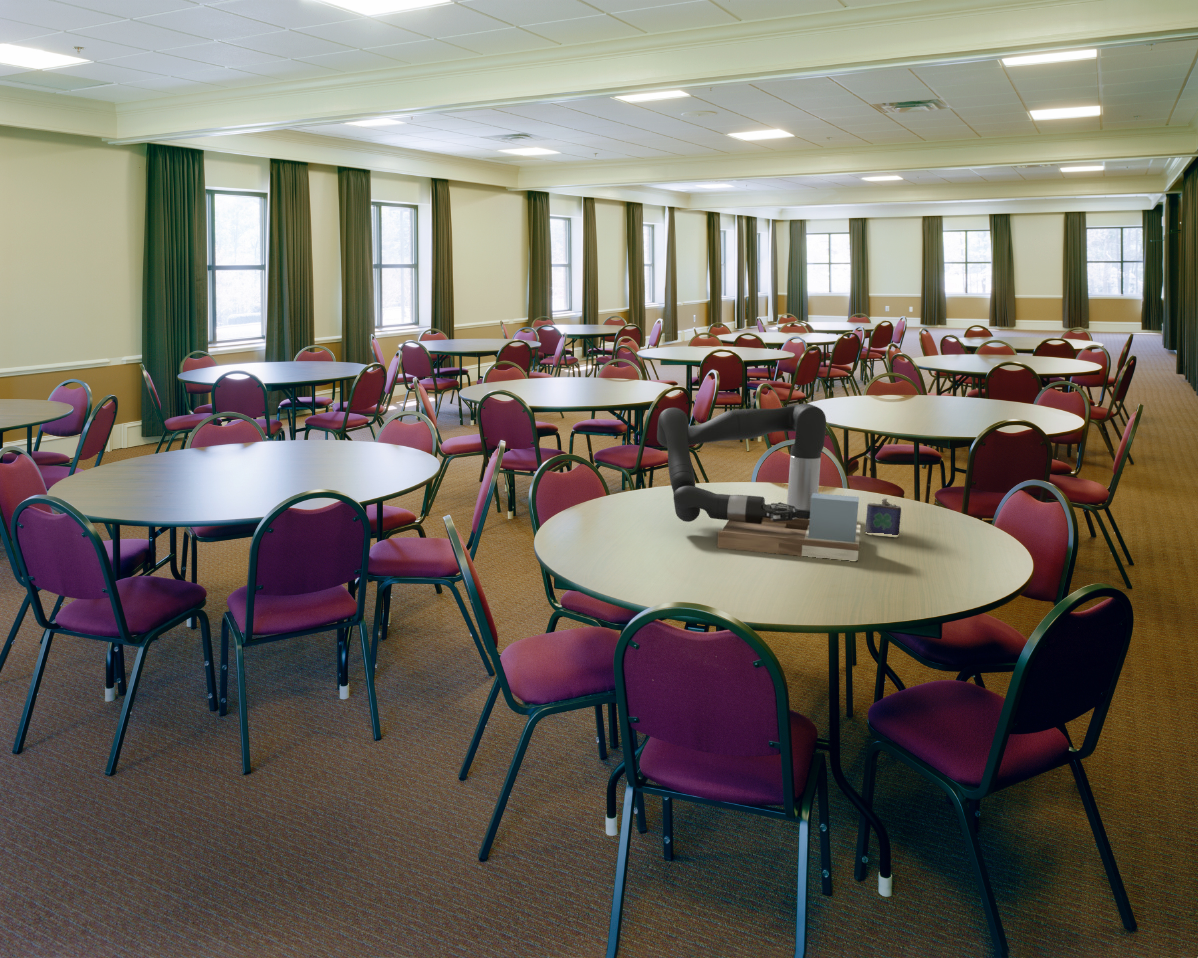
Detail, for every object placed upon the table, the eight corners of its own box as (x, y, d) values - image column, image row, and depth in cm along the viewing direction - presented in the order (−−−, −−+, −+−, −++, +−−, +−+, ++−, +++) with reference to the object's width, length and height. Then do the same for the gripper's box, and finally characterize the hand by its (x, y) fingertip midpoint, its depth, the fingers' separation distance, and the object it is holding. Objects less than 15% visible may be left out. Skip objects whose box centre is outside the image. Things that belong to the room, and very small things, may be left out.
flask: (864, 534, 252) (867, 498, 250) (865, 532, 255) (869, 495, 253) (898, 539, 249) (901, 501, 246) (899, 536, 251) (903, 499, 249)
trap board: (730, 527, 257) (730, 512, 256) (859, 539, 247) (860, 524, 246) (717, 547, 236) (718, 531, 235) (857, 562, 226) (859, 545, 225)
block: (809, 532, 242) (812, 492, 240) (855, 536, 239) (858, 496, 236) (808, 537, 237) (811, 497, 234) (854, 542, 233) (858, 501, 231)
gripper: (743, 500, 236) (809, 506, 231) (750, 490, 249) (813, 496, 244) (741, 528, 238) (807, 534, 233) (748, 516, 250) (811, 522, 245)
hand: (810, 514), depth 238 cm, fingers closed
